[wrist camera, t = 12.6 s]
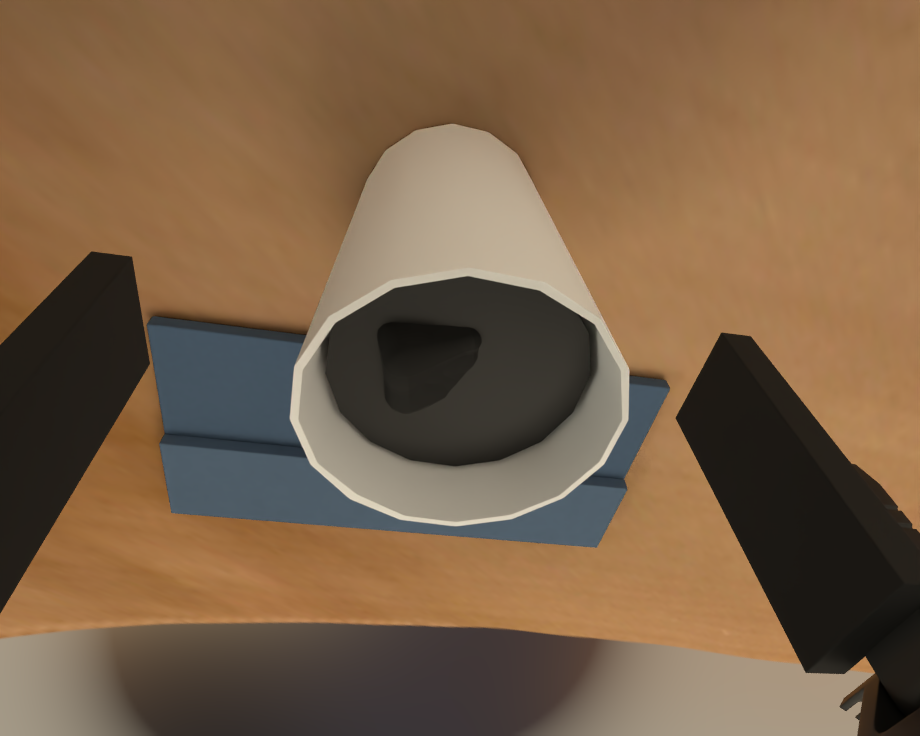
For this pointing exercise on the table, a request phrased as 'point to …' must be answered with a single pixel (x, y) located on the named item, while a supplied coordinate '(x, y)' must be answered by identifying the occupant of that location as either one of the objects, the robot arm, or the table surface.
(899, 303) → the table surface
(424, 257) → the white paper cup
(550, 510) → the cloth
